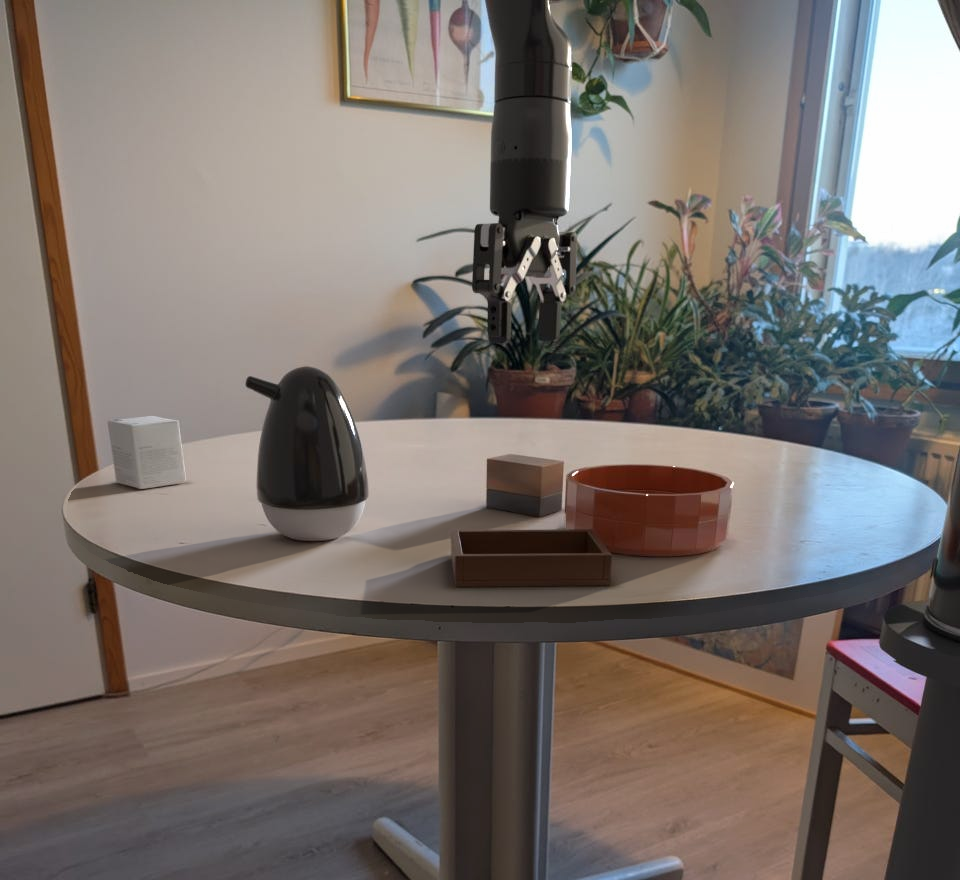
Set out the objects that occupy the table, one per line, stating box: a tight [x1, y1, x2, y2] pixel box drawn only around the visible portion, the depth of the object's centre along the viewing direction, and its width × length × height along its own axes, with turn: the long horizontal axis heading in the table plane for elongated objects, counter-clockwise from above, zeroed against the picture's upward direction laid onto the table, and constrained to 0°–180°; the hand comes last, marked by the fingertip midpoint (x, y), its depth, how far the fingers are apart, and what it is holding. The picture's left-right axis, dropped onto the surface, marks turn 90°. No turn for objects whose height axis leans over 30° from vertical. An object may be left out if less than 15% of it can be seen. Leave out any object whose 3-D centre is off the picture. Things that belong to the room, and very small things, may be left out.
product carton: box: [107, 415, 187, 490], centre depth 104 cm, size 6×6×7 cm
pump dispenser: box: [244, 365, 370, 542], centre depth 81 cm, size 10×10×15 cm
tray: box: [450, 528, 613, 588], centre depth 73 cm, size 12×8×2 cm
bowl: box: [563, 463, 735, 558], centre depth 84 cm, size 15×15×6 cm
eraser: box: [485, 453, 565, 518], centre depth 94 cm, size 7×4×5 cm, turn 52°
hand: (525, 342), depth 89 cm, fingers open, 8 cm apart
